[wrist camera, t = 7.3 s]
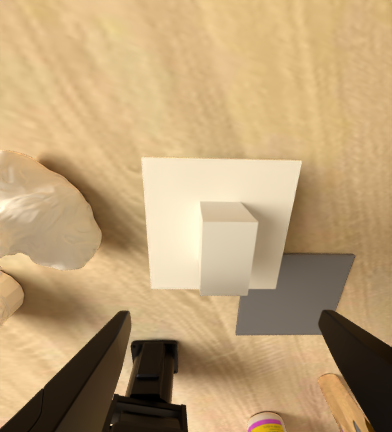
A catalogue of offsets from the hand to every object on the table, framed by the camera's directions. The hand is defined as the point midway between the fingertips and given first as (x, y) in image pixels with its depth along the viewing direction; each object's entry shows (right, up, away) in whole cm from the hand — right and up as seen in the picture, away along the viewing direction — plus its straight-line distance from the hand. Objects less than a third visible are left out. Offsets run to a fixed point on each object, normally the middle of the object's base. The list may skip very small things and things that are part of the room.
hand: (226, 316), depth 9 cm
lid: (0, +4, +7) cm, 8 cm away
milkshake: (+20, -22, +23) cm, 37 cm away
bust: (-16, +6, +11) cm, 20 cm away
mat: (+11, -6, +16) cm, 20 cm away
